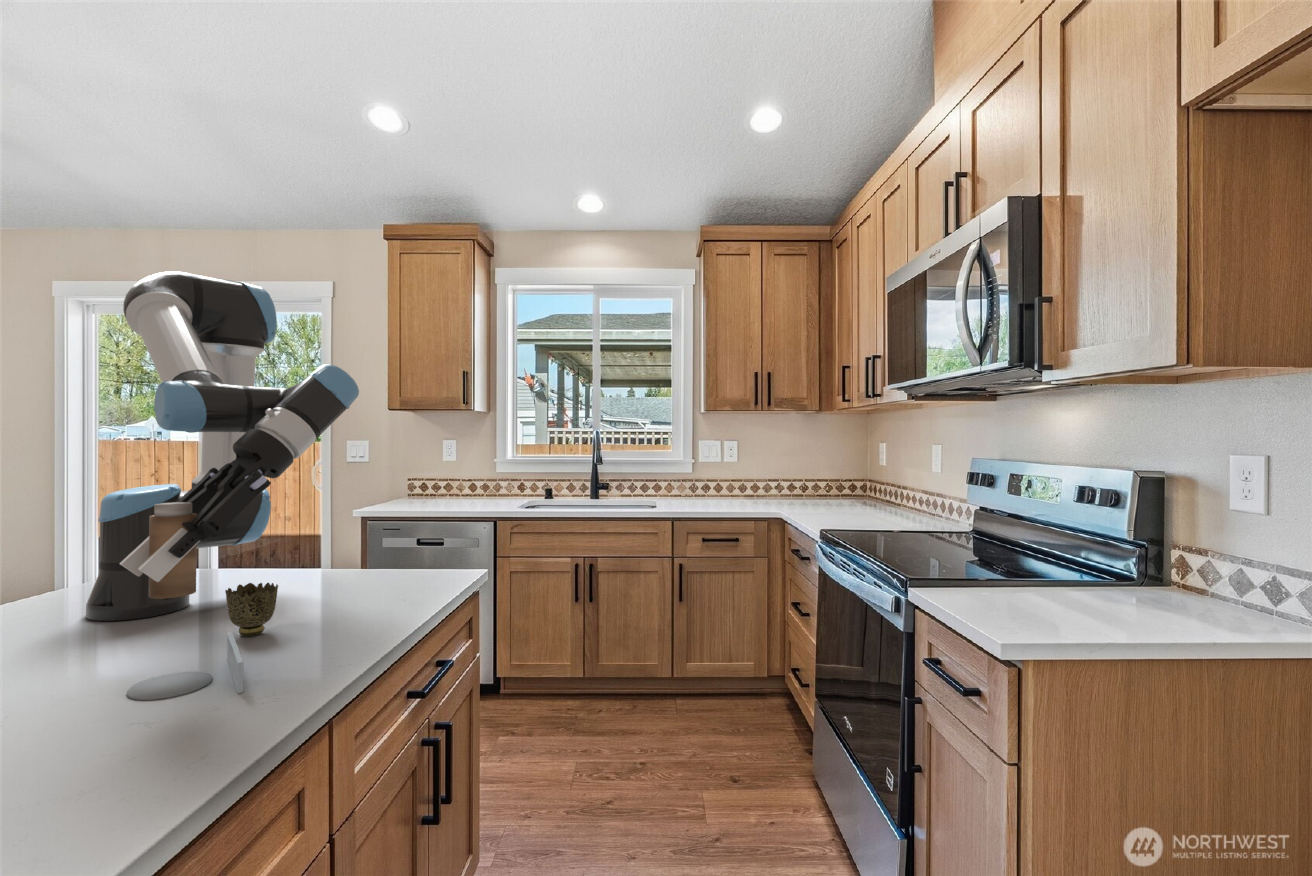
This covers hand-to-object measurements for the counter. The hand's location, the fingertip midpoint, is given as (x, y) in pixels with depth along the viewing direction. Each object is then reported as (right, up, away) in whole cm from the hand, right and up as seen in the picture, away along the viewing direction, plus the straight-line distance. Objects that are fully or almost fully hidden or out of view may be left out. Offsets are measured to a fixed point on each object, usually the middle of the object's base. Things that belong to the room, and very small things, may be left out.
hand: (138, 572), depth 80 cm
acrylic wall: (+7, -16, +7) cm, 19 cm away
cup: (-2, -16, +25) cm, 30 cm away
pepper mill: (+2, -4, +3) cm, 5 cm away
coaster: (+2, -16, +3) cm, 16 cm away
